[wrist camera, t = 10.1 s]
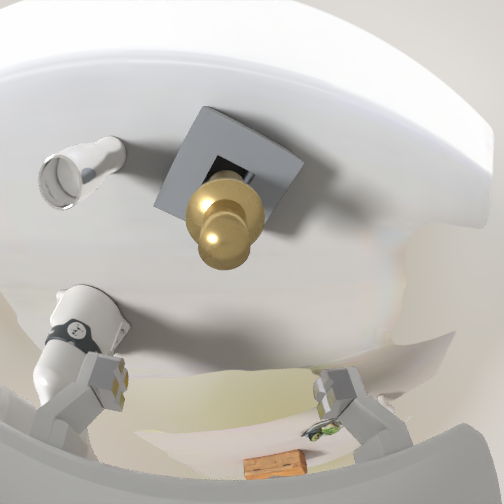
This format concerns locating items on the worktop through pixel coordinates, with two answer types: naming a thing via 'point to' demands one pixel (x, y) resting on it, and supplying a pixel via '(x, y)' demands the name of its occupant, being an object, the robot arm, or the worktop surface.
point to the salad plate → (322, 429)
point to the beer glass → (79, 171)
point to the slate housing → (235, 150)
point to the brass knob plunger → (225, 220)
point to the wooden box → (276, 466)
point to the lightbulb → (385, 403)
